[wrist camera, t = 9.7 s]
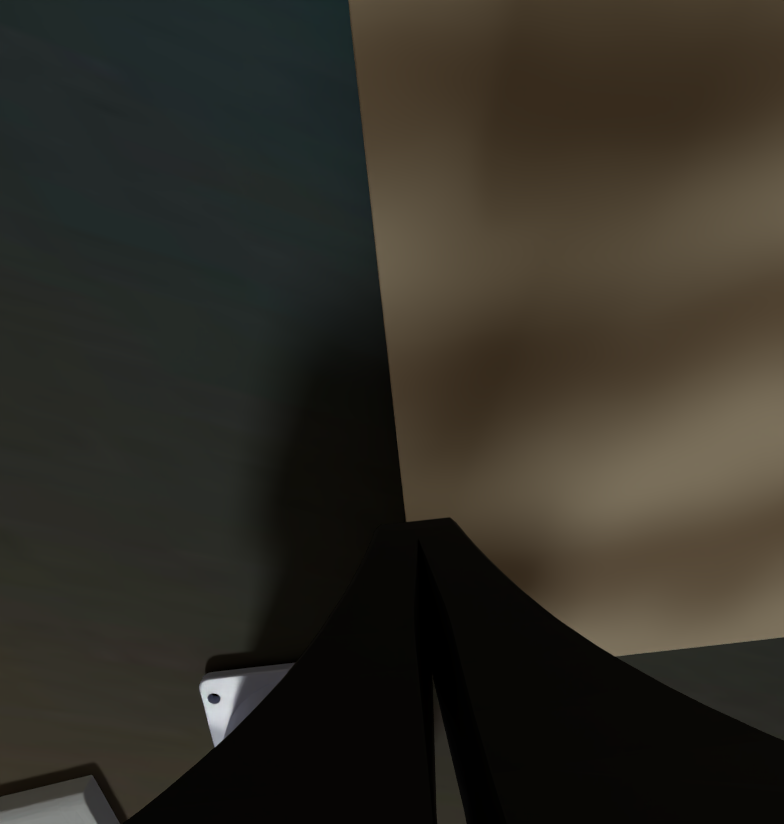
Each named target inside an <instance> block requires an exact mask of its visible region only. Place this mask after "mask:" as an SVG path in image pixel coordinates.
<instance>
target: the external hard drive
mask: <svg viewBox="0 0 784 824" xmlns="http://www.w3.org/2000/svg"><path fill="white" fill-rule="evenodd" d="M0 824H120V823H119V821H118V819H117V818H116V816H115V814H114V812H113V810H112V809H111V807H110V805H109V803H108V802H107V800H106V798H105V796H104V794H103V793H102V791H101V789H100V787H99V786H98V784H97V782H96V780H95V779H94V777H93V775H89V776H85V777H80V778H76V779H72V780H68V781H64V782H59V783H55V784H51V785H47V786H43V787H39V788H35V789H30V790H26V791H22V792H18V793H14V794H10V795H5V796H1V797H0Z"/></svg>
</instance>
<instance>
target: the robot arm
mask: <svg viewBox="0 0 784 824" xmlns="http://www.w3.org/2000/svg"><path fill="white" fill-rule="evenodd" d="M432 675H433V679H434V684H435V688H436V692H437V697H438V701H439V705H440V710H441V714H442V718H443V722H444V727H445V731H446V735H447V739H448V744H449V748H450V752H451V756H452V761H453V765H454V769H455V773H456V778H457V782H458V786H459V790H460V795H461V799H462V803H463V807H464V812H465V817H466V822H467V824H784V741H783V740H781V739H778V738H776V737H774V736H771V735H769V734H767V733H764V732H762V731H760V730H758V729H756V728H754V727H751V726H749V725H747V724H745V723H743V722H741V721H738V720H736V719H734V718H732V717H730V716H728V715H725V714H723V713H721V712H719V711H717V710H715V709H712V708H710V707H708V706H706V705H704V704H702V703H700V702H698V701H696V700H694V699H692V698H690V697H688V696H686V695H684V694H682V693H680V692H678V691H676V690H674V689H672V688H670V687H668V686H666V685H664V684H663V683H661V682H659V681H657V680H655V679H654V678H652V677H650V676H648V675H646V674H645V673H643V672H641V671H639V670H638V669H636V668H634V667H632V666H630V665H629V664H627V663H625V662H623V661H621V660H620V659H618V658H616V657H615V656H613V655H612V654H610V653H608V652H607V651H605V650H603V649H602V648H600V647H598V646H597V645H595V644H594V643H592V642H591V641H589V640H588V639H586V638H585V637H583V636H582V635H581V634H579V633H578V632H576V631H575V630H573V629H572V628H570V627H569V626H567V625H566V624H564V623H563V622H561V621H560V620H559V619H557V618H556V617H555V616H553V615H552V614H551V613H549V612H548V611H547V610H546V609H544V608H543V607H542V606H541V605H540V604H538V603H537V602H536V601H535V600H533V599H532V598H531V597H530V596H529V595H527V594H526V593H525V592H524V591H523V590H522V589H521V588H519V587H518V586H517V585H516V584H515V583H514V582H513V581H512V580H511V579H509V578H508V577H507V576H506V575H505V574H504V573H503V572H502V571H501V570H500V569H499V568H498V567H497V566H496V565H495V564H494V563H493V562H492V561H491V560H490V559H489V558H488V557H487V556H486V555H485V554H484V553H483V552H482V551H481V550H480V549H479V548H478V547H477V546H476V545H475V544H474V543H473V542H472V540H471V539H470V538H469V537H468V536H467V535H466V534H465V532H464V531H463V530H462V529H461V528H460V526H459V525H458V524H457V523H456V522H455V521H454V520H453V519H452V518H450V517H447V518H438V519H429V520H420V521H411V522H402V523H393V524H384V525H380V526H379V527H378V528H377V529H376V530H375V531H374V535H373V538H372V540H371V543H370V545H369V547H368V550H367V552H366V554H365V556H364V558H363V560H362V562H361V564H360V566H359V568H358V570H357V572H356V574H355V575H354V577H353V579H352V581H351V582H350V584H349V586H348V588H347V590H346V591H345V593H344V595H343V596H342V598H341V600H340V601H339V603H338V604H337V606H336V607H335V609H334V610H333V612H332V613H331V615H330V616H329V618H328V619H327V621H326V622H325V624H324V625H323V627H322V628H321V630H320V631H319V633H318V634H317V635H316V637H315V638H314V640H313V641H312V642H311V644H310V645H309V646H308V648H307V649H306V650H305V651H304V653H303V654H302V655H301V657H300V658H299V659H298V660H297V662H296V663H287V664H279V665H270V666H261V667H252V668H243V669H235V670H226V671H217V672H210V673H207V674H205V675H204V676H203V678H202V680H201V682H200V685H199V689H200V693H201V697H202V701H203V705H204V709H205V713H206V716H207V720H208V724H209V728H210V732H211V736H212V740H213V743H214V747H215V748H214V749H212V750H211V751H210V752H209V753H208V754H207V755H206V756H205V757H204V758H202V759H201V760H200V761H199V762H198V763H197V764H196V765H194V766H193V767H192V768H191V769H190V770H189V771H187V772H186V773H185V774H184V775H183V776H182V777H180V778H179V779H178V780H177V781H176V782H174V783H173V784H172V785H171V786H170V787H169V788H167V789H166V790H165V791H164V792H163V793H161V794H160V795H159V796H158V797H156V798H155V799H154V800H153V801H151V802H150V803H149V804H148V805H146V806H145V807H144V808H143V809H141V810H140V811H139V812H138V813H136V814H135V815H134V816H132V817H131V818H130V819H128V820H127V821H126V822H124V823H123V824H437V814H436V782H435V748H434V714H433V682H432ZM212 693H214V694H218V695H219V696H214V695H212Z"/></svg>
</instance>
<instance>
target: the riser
mask: <svg viewBox="0 0 784 824" xmlns="http://www.w3.org/2000/svg"><path fill="white" fill-rule="evenodd" d="M349 11H350V21H351V30H352V39H353V49H354V58H355V67H356V76H357V85H358V94H359V103H360V112H361V121H362V130H363V139H364V148H365V157H366V166H367V175H368V184H369V193H370V202H371V211H372V220H373V229H374V238H375V247H376V256H377V265H378V274H379V283H380V292H381V301H382V310H383V319H384V328H385V337H386V346H387V355H388V364H389V373H390V382H391V391H392V400H393V409H394V418H395V427H396V437H397V446H398V455H399V464H400V473H401V482H402V491H403V500H404V509H405V518H406V522H411V521H420V520H429V519H438V518H447V517H450V518H452V519H453V520H454V521H455V522H456V523H457V524H458V525H459V526H460V528H461V529H462V530H463V531H464V532H465V534H466V535H467V536H468V537H469V538H470V539H471V540H472V542H473V543H474V544H475V545H476V546H477V547H478V548H479V549H480V550H481V551H482V552H483V553H484V554H485V555H486V556H487V557H488V558H489V559H490V560H491V561H492V562H493V563H494V564H495V565H496V566H497V567H498V568H499V569H500V570H501V571H502V572H503V573H504V574H505V575H506V576H507V577H508V578H509V579H511V580H512V581H513V582H514V583H515V584H516V585H517V586H518V587H519V588H521V589H522V590H523V591H524V592H525V593H526V594H527V595H529V596H530V597H531V598H532V599H533V600H535V601H536V602H537V603H538V604H540V605H541V606H542V607H543V608H544V609H546V610H547V611H548V612H549V613H551V614H552V615H553V616H555V617H556V618H557V619H559V620H560V621H561V622H563V623H564V624H566V625H567V626H569V627H570V628H572V629H573V630H575V631H576V632H578V633H579V634H581V635H582V636H583V637H585V638H586V639H588V640H589V641H591V642H592V643H594V644H595V645H597V646H598V647H600V648H602V649H603V650H605V651H607V652H608V653H610V654H612V655H613V656H623V655H631V654H640V653H649V652H658V651H666V650H675V649H684V648H693V647H702V646H710V645H719V644H728V643H737V642H745V641H754V640H763V639H772V638H781V637H784V0H349ZM432 677H433V675H432Z"/></svg>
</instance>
